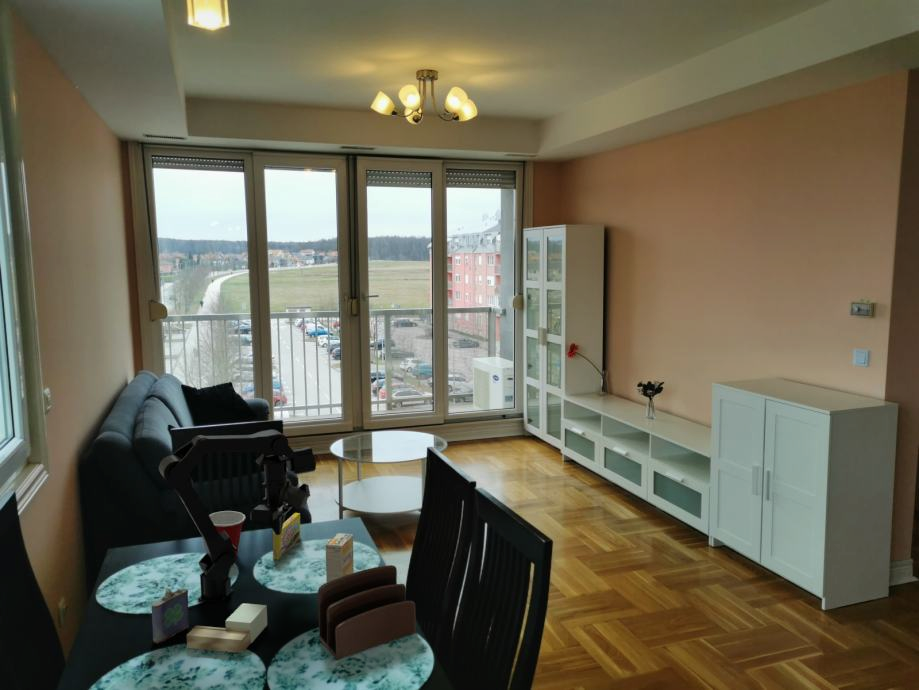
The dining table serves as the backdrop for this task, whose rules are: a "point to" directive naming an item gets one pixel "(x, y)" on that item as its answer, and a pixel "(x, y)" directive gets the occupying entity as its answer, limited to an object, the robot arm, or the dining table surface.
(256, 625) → the block
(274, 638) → the dining table surface
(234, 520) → the plastic cup
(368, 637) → the letter holder
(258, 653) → the dining table surface
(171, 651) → the dining table surface
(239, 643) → the wooden bar
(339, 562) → the supplement box
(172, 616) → the flask
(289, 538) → the candy box
